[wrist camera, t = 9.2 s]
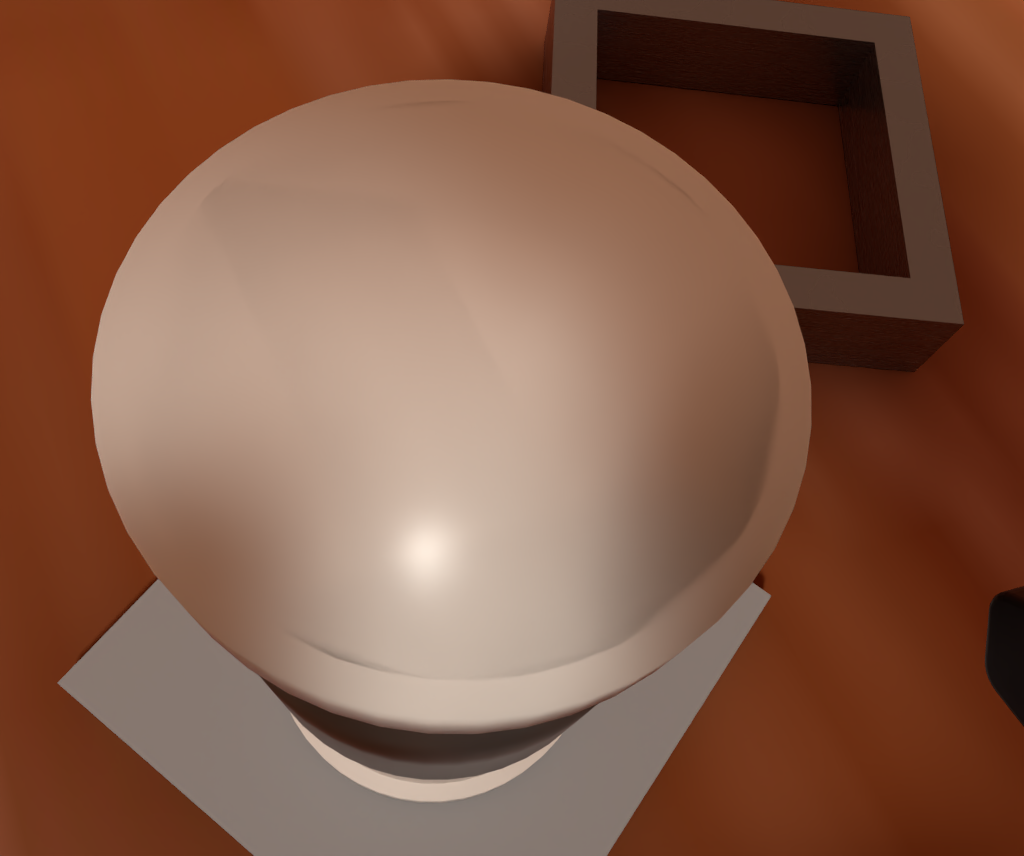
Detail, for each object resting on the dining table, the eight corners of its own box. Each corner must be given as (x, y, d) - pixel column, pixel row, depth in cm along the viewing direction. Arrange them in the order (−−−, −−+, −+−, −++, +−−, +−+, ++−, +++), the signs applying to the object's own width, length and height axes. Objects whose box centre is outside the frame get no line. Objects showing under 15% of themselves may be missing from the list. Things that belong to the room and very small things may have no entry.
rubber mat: (478, 1048, 18) (480, 1053, 18) (66, 687, 20) (57, 682, 19) (762, 602, 22) (771, 596, 22) (400, 340, 24) (400, 328, 24)
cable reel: (532, 850, 19) (725, 842, 7) (226, 737, 19) (-64, 554, 8) (620, 553, 22) (864, 196, 10) (351, 459, 22) (281, 6, 10)
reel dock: (914, 371, 25) (963, 324, 23) (530, 335, 25) (543, 282, 22) (871, 80, 30) (909, 16, 28) (544, 42, 29) (556, -27, 27)
